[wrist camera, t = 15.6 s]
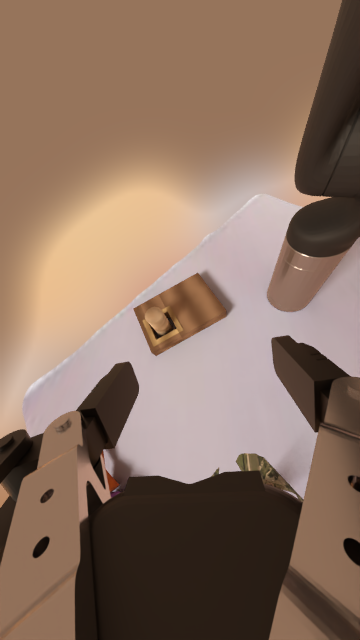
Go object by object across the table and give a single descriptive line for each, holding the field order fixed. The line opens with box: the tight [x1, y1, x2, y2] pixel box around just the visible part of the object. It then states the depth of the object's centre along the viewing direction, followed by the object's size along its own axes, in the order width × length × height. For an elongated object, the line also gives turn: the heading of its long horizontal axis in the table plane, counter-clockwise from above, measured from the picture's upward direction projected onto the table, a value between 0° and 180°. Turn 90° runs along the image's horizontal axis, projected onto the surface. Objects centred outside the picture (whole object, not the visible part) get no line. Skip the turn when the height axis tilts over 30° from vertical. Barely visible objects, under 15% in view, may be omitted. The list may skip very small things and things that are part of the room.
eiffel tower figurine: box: [211, 453, 304, 502], centre depth 24 cm, size 15×10×13 cm
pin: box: [145, 307, 173, 337], centre depth 44 cm, size 4×4×9 cm
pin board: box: [134, 273, 226, 356], centre depth 47 cm, size 20×14×3 cm
